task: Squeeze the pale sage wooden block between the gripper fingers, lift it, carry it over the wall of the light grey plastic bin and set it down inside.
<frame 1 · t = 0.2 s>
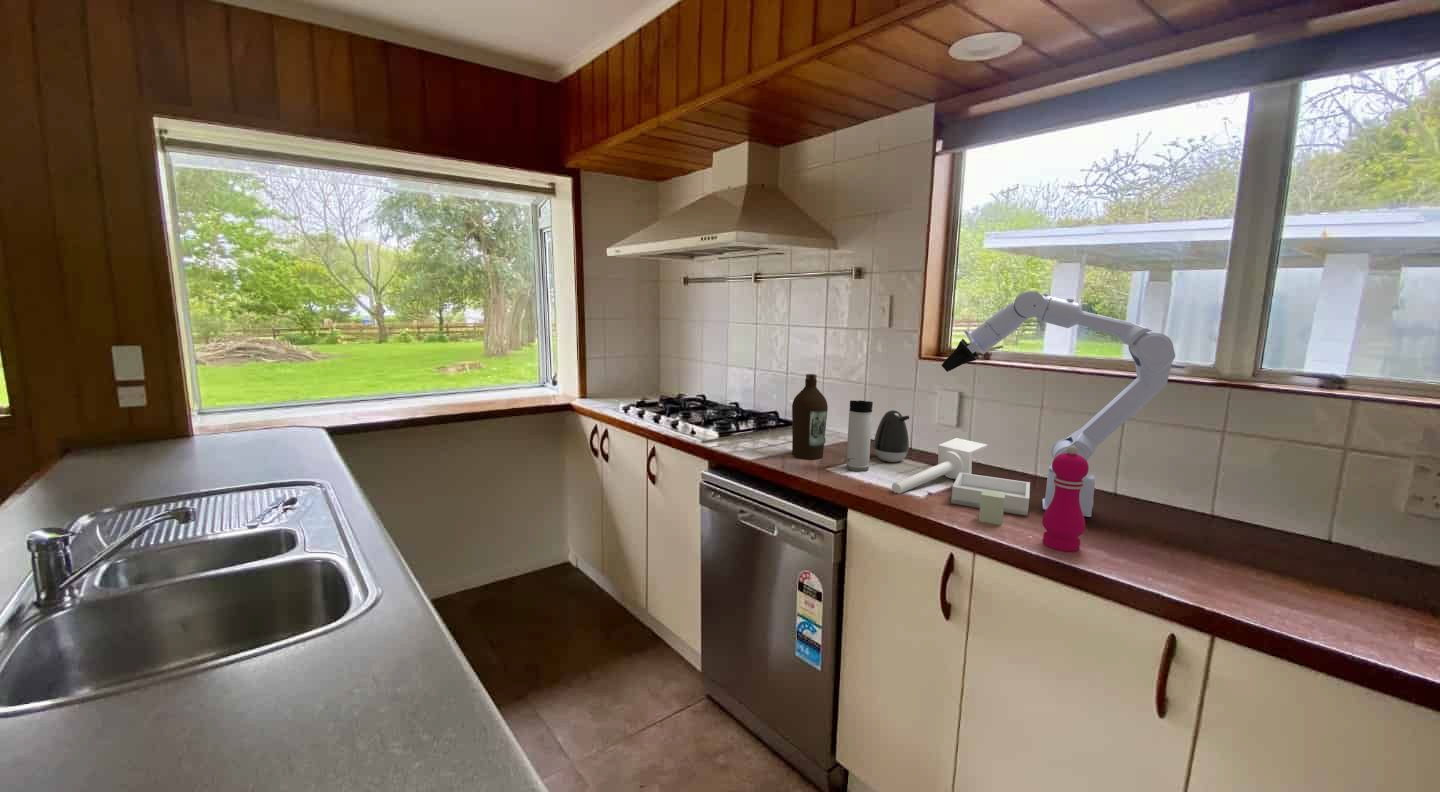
hand: (945, 366, 142), 31 cm above the countertop, tool tilted 45°, fingers open, 7 cm apart
grey bin: (990, 500, 139), on the countertop
sage block: (990, 520, 127), on the countertop
olive oil: (807, 456, 178), on the countertop
pepper mill: (1060, 546, 114), on the countertop
pump dispenser: (890, 460, 175), on the countertop
travel mug: (857, 469, 164), on the countertop
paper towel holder: (934, 485, 153), on the countertop
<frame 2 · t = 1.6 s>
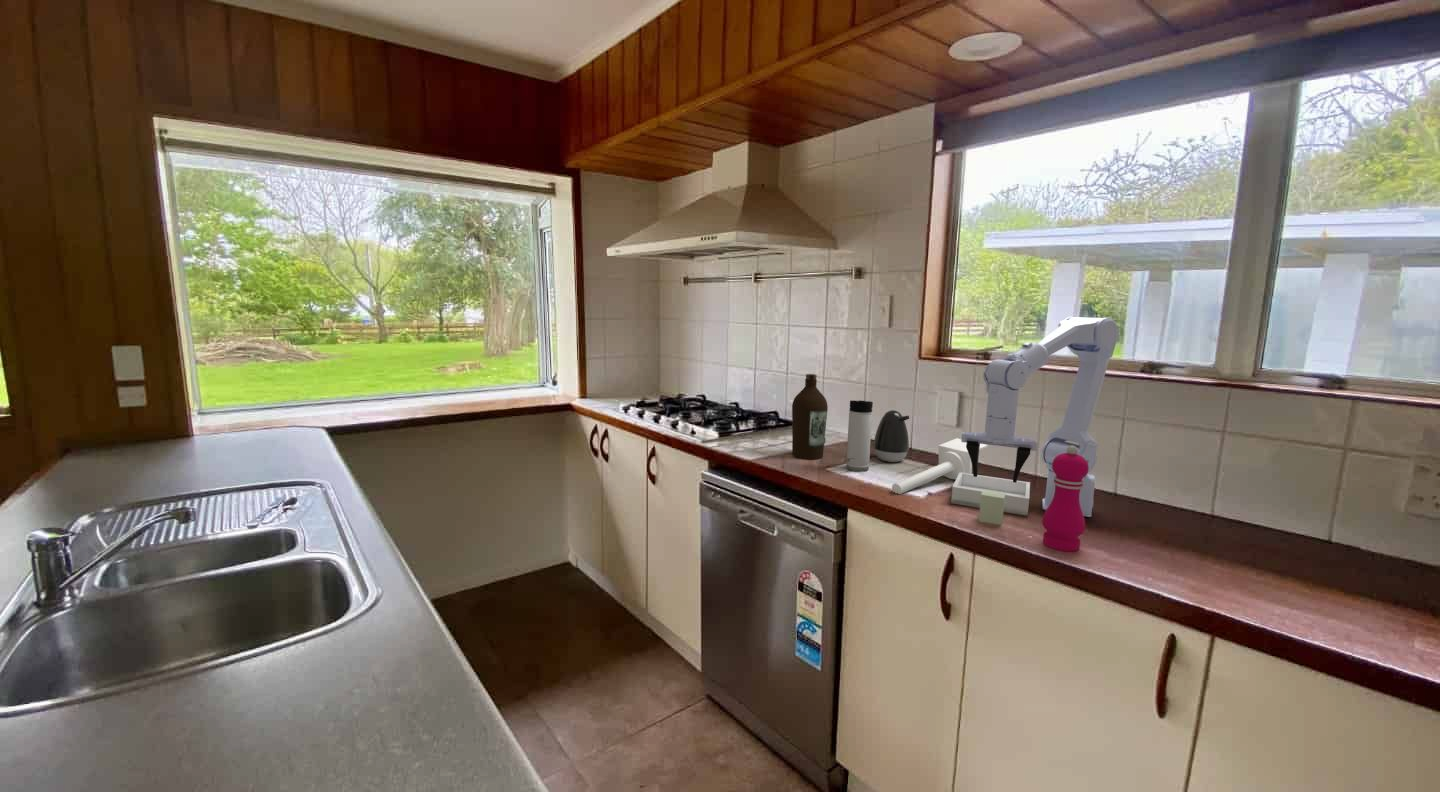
hand: (994, 478, 125), 9 cm above the countertop, tool pointing down, fingers open, 7 cm apart
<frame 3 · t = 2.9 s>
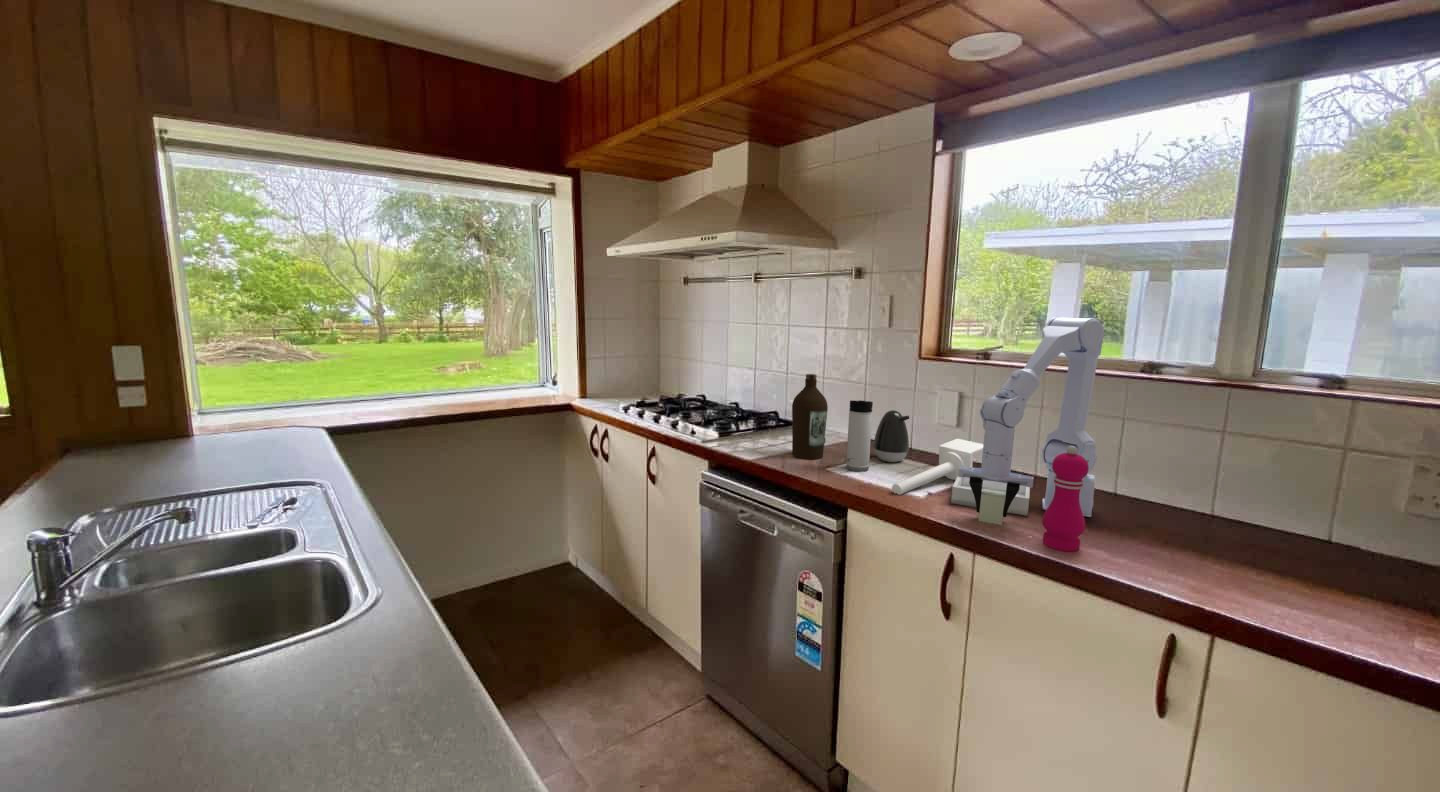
hand: (991, 513, 126), 1 cm above the countertop, tool pointing down, fingers closed on sage block, 4 cm apart
sage block: (990, 519, 127), on the countertop, touching gripper
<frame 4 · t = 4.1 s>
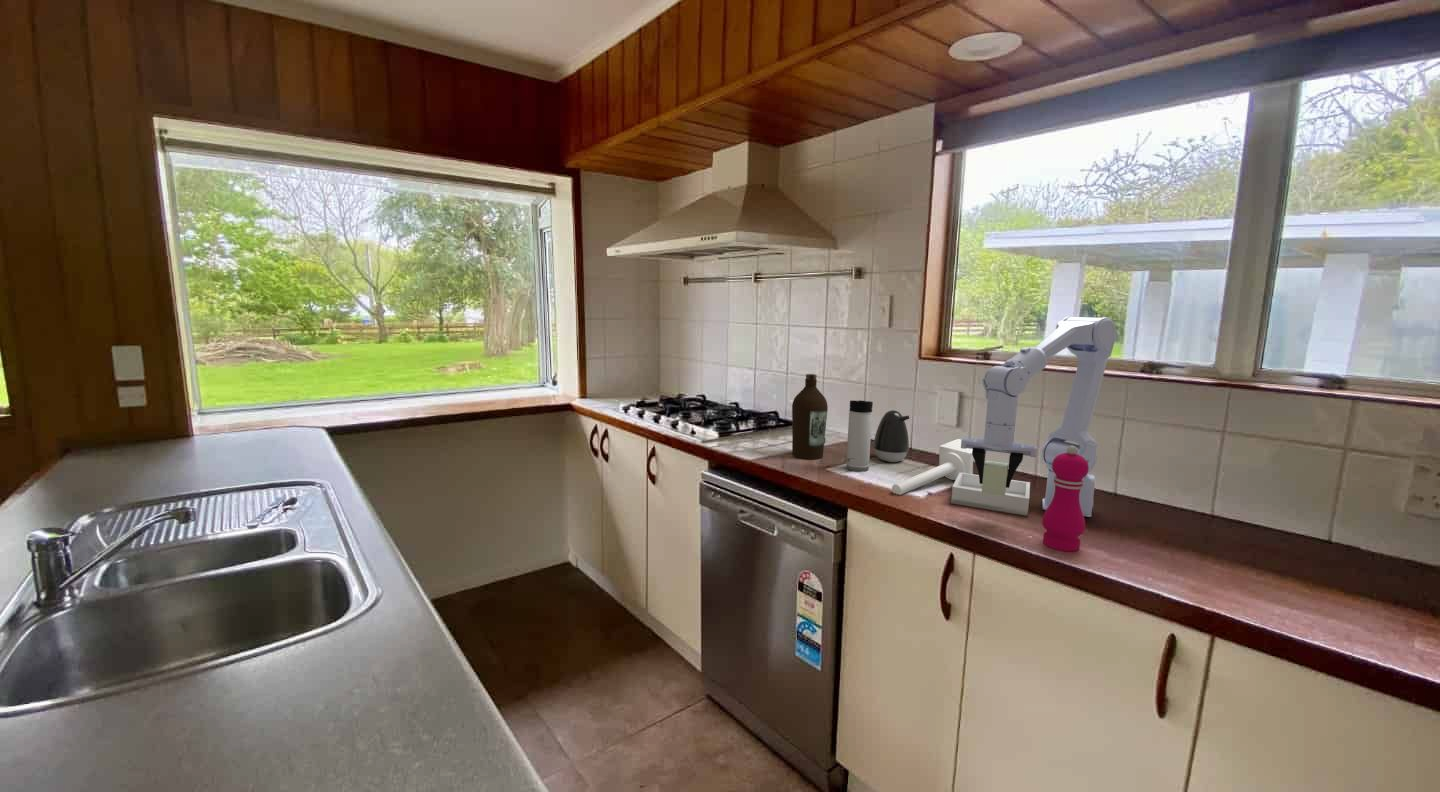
hand: (994, 484, 125), 8 cm above the countertop, tool pointing down, fingers closed on sage block, 4 cm apart
sage block: (993, 491, 126), point 6 cm above the countertop, touching gripper
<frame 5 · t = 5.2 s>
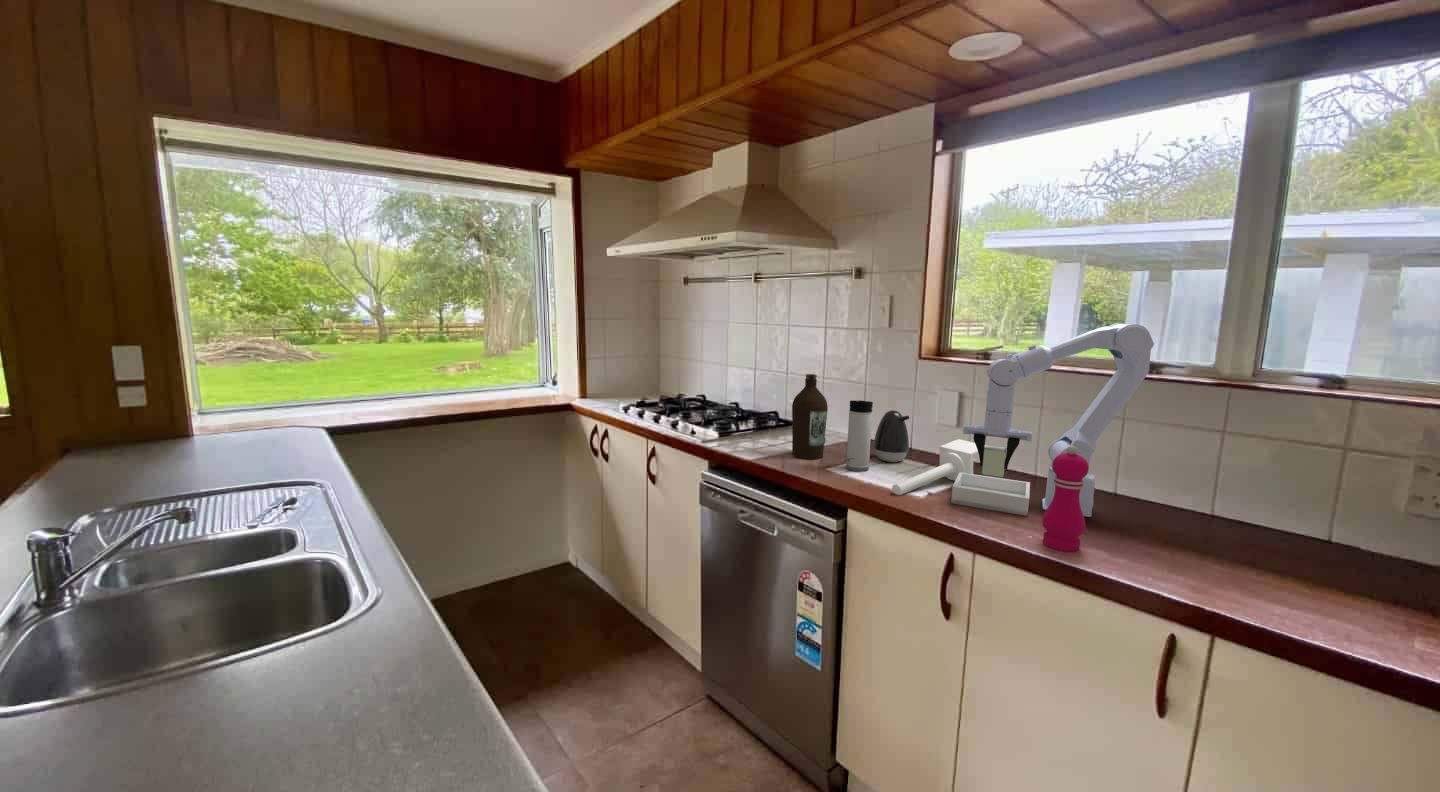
hand: (993, 466, 138), 8 cm above the countertop, tool pointing down, fingers closed on sage block, 4 cm apart
sage block: (993, 473, 138), point 7 cm above the countertop, touching gripper
when the fingers open (4 cm above the countertop, at t = 6.3 s): sage block drops 2 cm, resting on grey bin.
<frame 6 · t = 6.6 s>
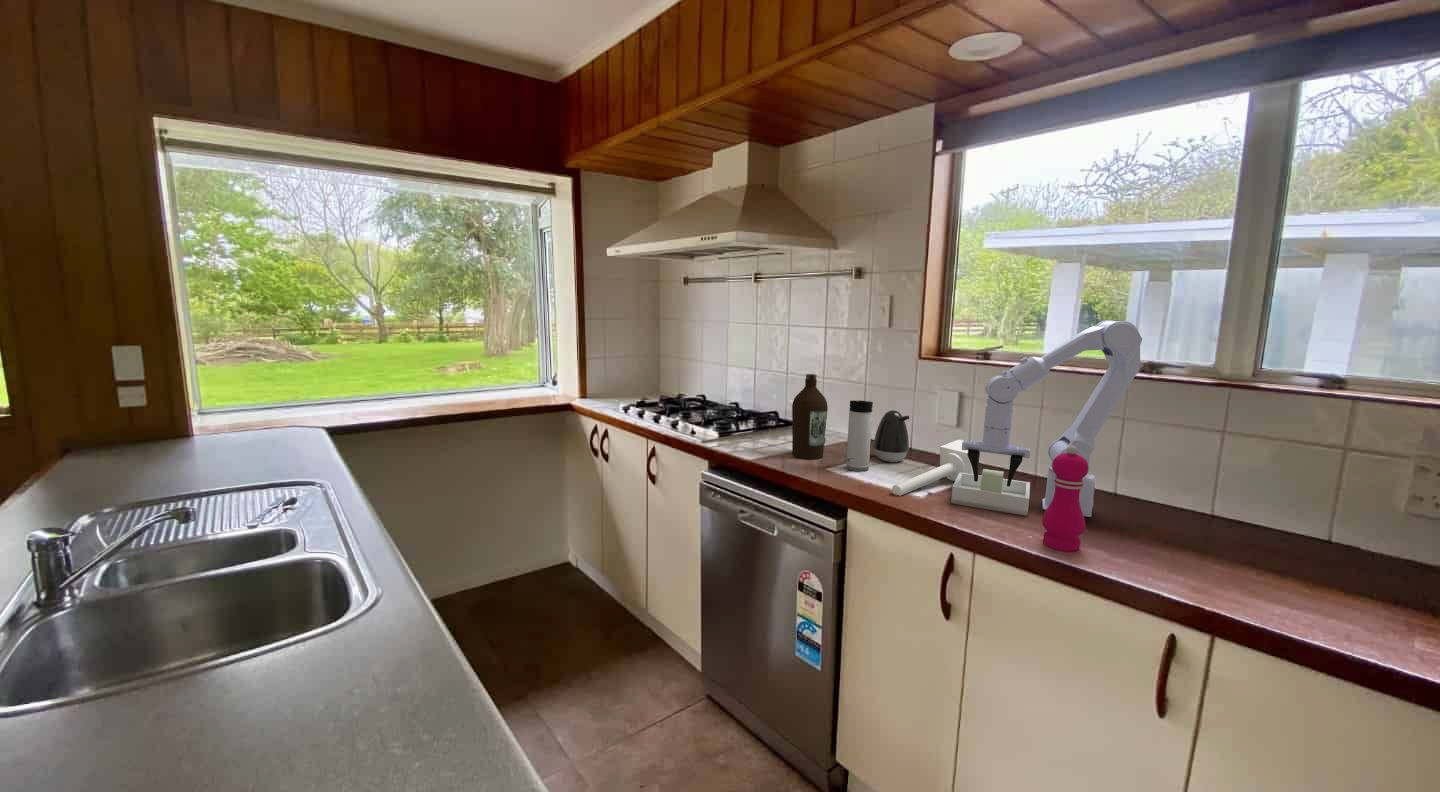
hand: (992, 482, 139), 4 cm above the countertop, tool pointing down, fingers open, 6 cm apart
sage block: (990, 496, 139), point 1 cm above the countertop, touching grey bin
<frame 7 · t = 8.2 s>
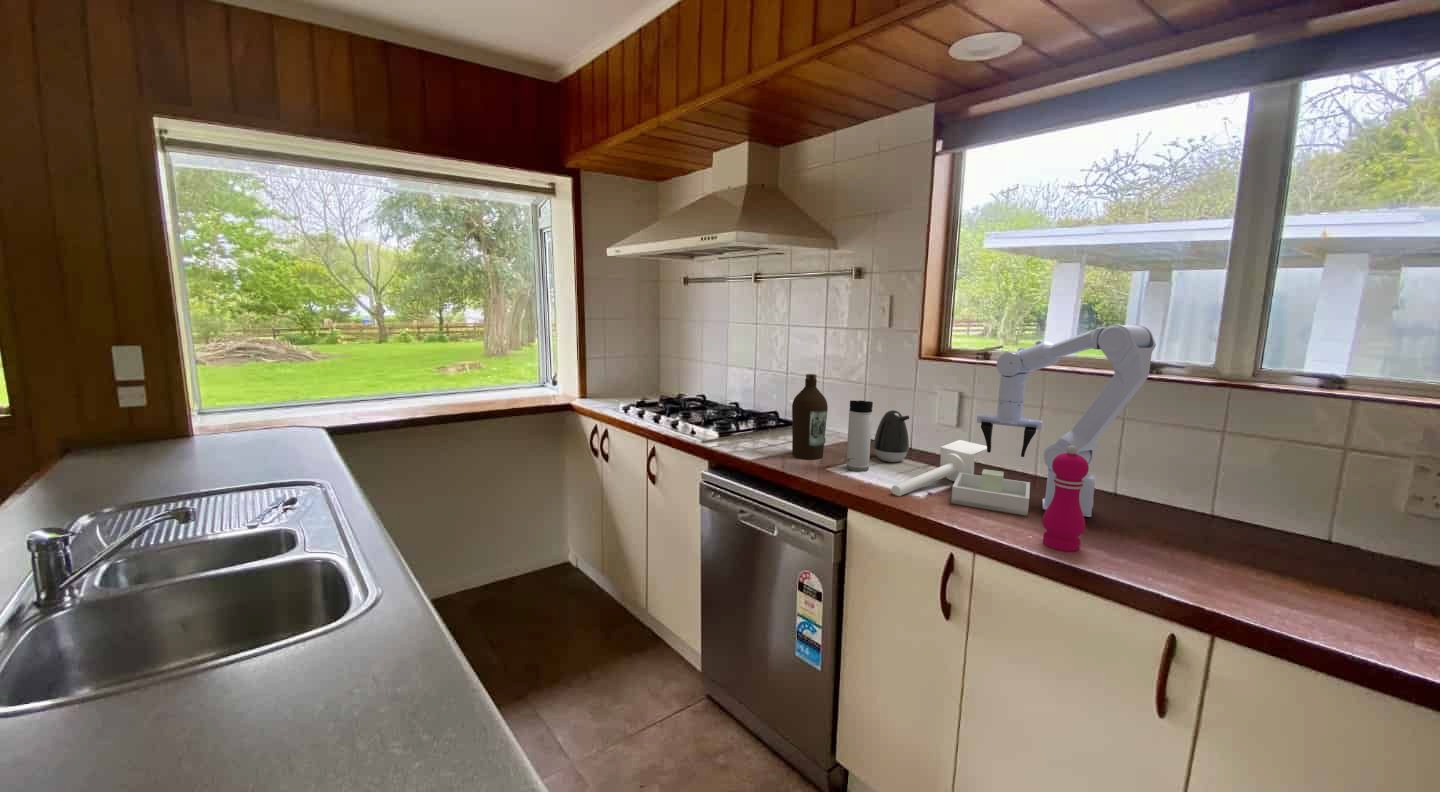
hand: (1005, 453, 147), 9 cm above the countertop, tool pointing down, fingers open, 7 cm apart
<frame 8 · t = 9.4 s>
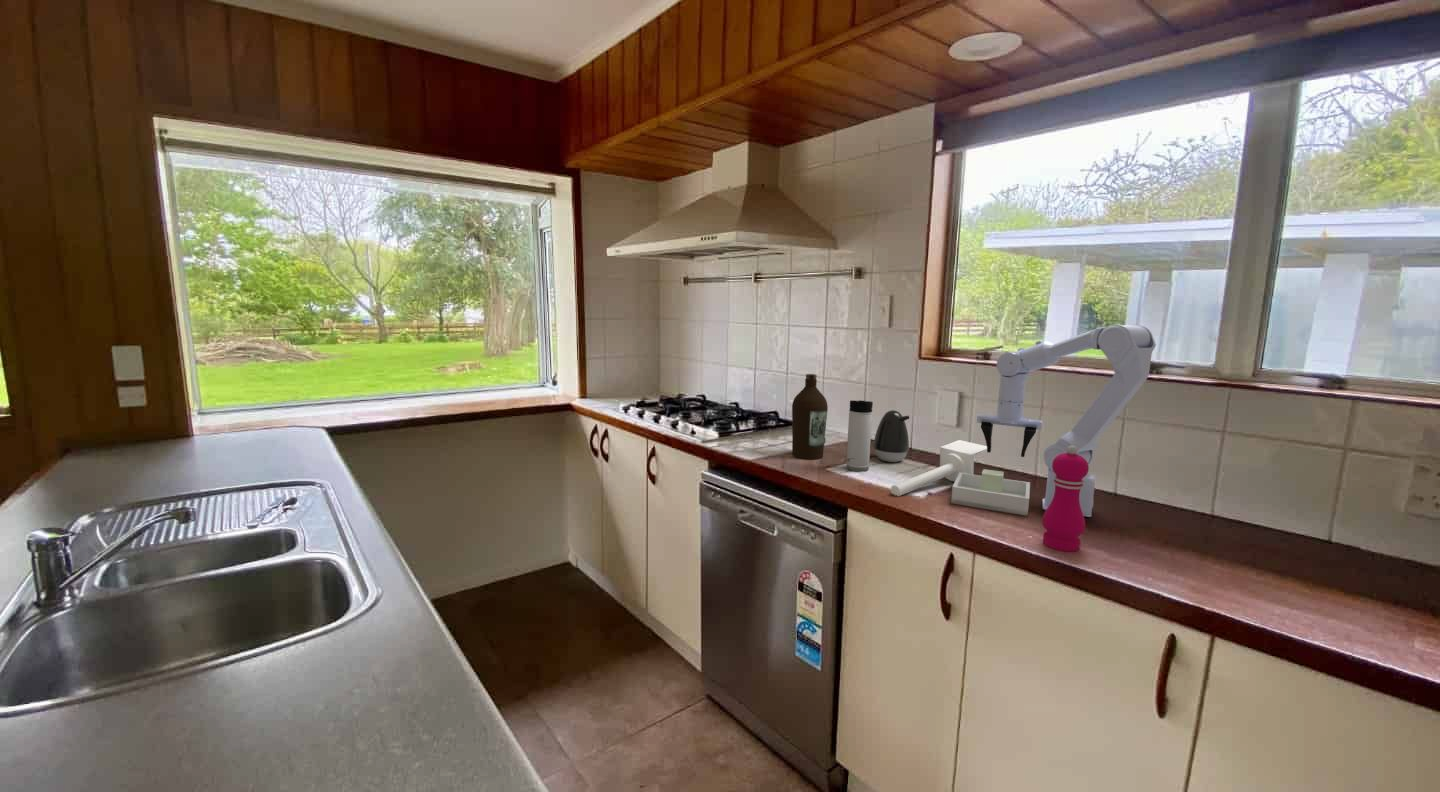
hand: (1005, 453, 147), 9 cm above the countertop, tool pointing down, fingers open, 7 cm apart
at the end: sage block inside the target area on the grey bin (0.2 cm from its centre), point 1.0 cm above the grey bin's base; sage block tilted 0°; the gripper is holding nothing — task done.
